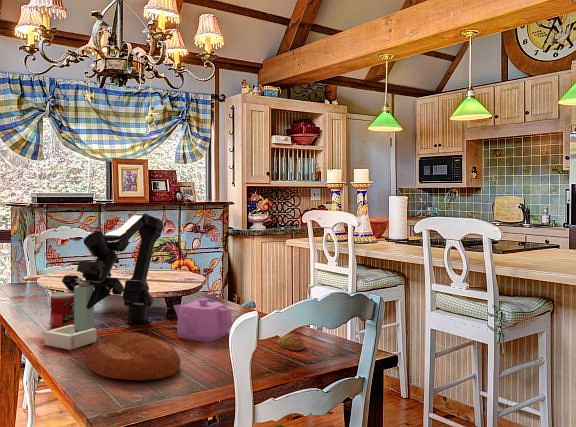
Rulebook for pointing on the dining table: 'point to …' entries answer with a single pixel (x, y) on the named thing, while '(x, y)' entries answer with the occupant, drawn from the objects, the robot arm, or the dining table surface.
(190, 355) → the dining table surface
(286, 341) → the pastry
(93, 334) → the cradle
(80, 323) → the post
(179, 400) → the dining table surface
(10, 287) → the dining table surface
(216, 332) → the teakettle
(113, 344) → the bread
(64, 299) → the canned food
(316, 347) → the dining table surface
